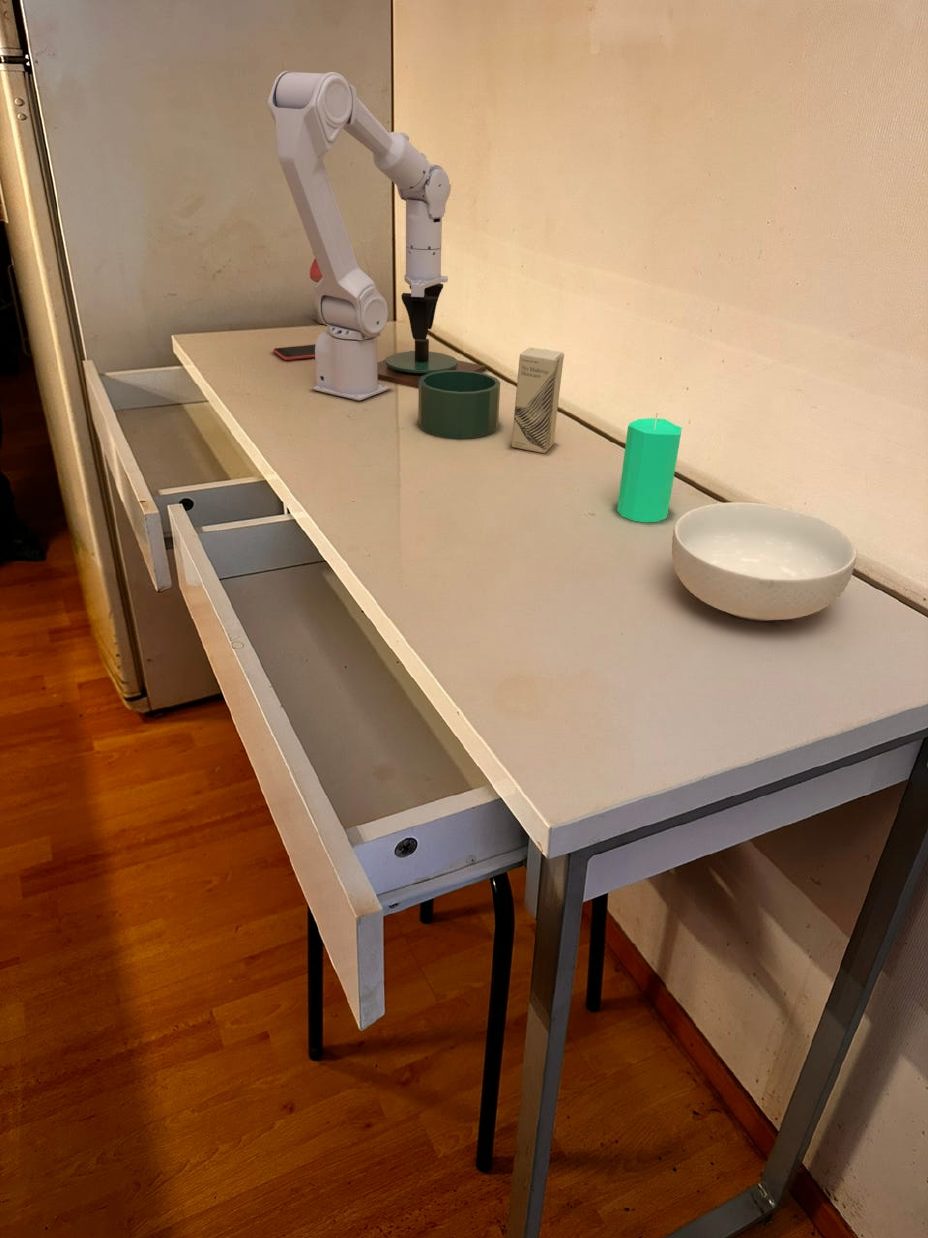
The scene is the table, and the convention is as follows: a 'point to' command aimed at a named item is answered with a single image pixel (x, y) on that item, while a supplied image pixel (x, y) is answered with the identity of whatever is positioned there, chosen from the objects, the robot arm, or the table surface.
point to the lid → (421, 360)
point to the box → (537, 399)
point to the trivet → (413, 378)
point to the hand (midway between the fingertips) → (422, 333)
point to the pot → (458, 404)
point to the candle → (648, 469)
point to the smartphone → (296, 352)
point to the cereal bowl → (761, 559)
